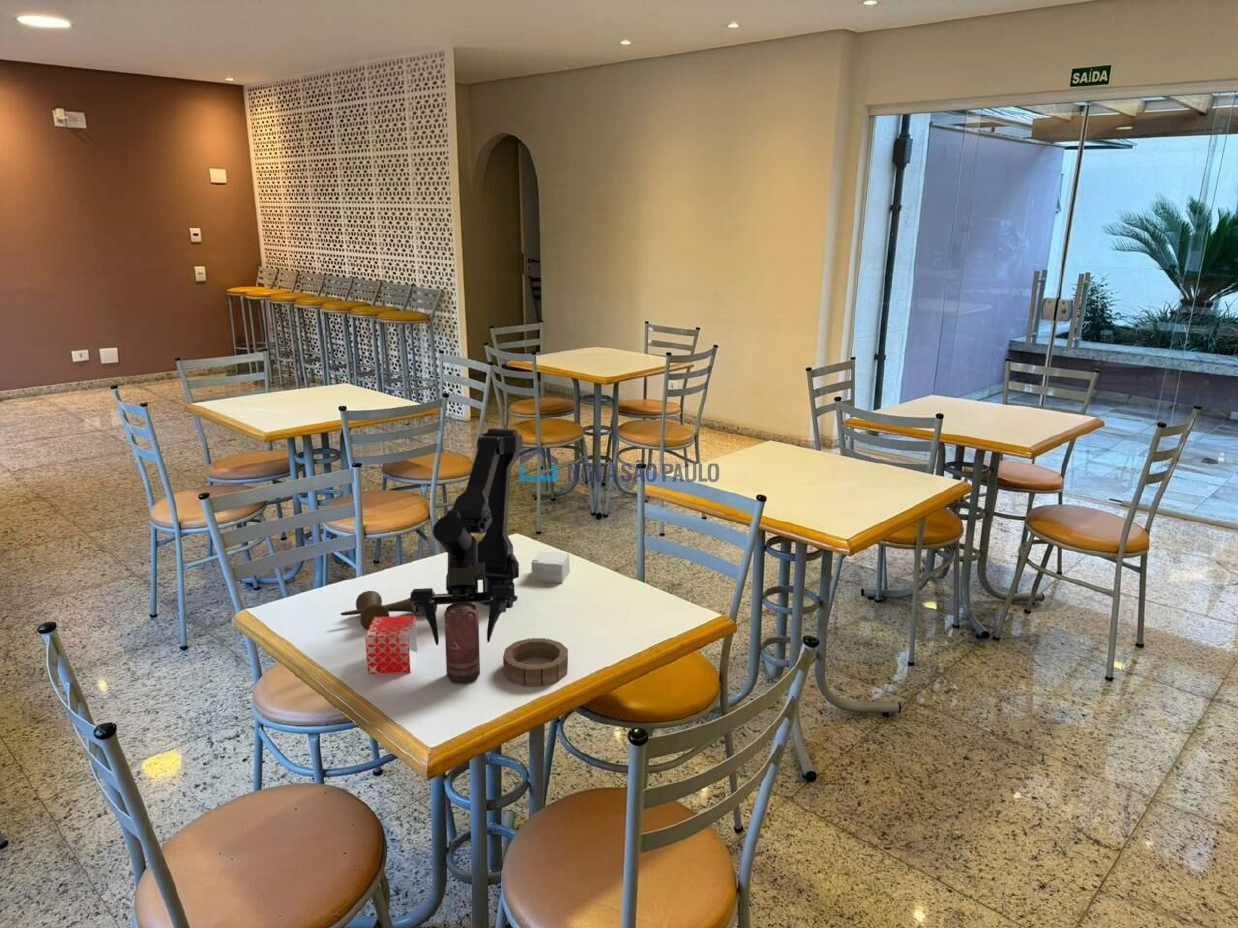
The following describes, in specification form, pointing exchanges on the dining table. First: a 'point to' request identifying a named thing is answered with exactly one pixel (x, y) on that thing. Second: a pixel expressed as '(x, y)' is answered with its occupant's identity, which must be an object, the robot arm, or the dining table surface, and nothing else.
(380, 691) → the dining table surface
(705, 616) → the dining table surface
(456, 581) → the robot arm
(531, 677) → the walnut ring
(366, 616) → the kendama
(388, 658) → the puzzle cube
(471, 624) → the can
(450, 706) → the dining table surface
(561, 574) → the small box
